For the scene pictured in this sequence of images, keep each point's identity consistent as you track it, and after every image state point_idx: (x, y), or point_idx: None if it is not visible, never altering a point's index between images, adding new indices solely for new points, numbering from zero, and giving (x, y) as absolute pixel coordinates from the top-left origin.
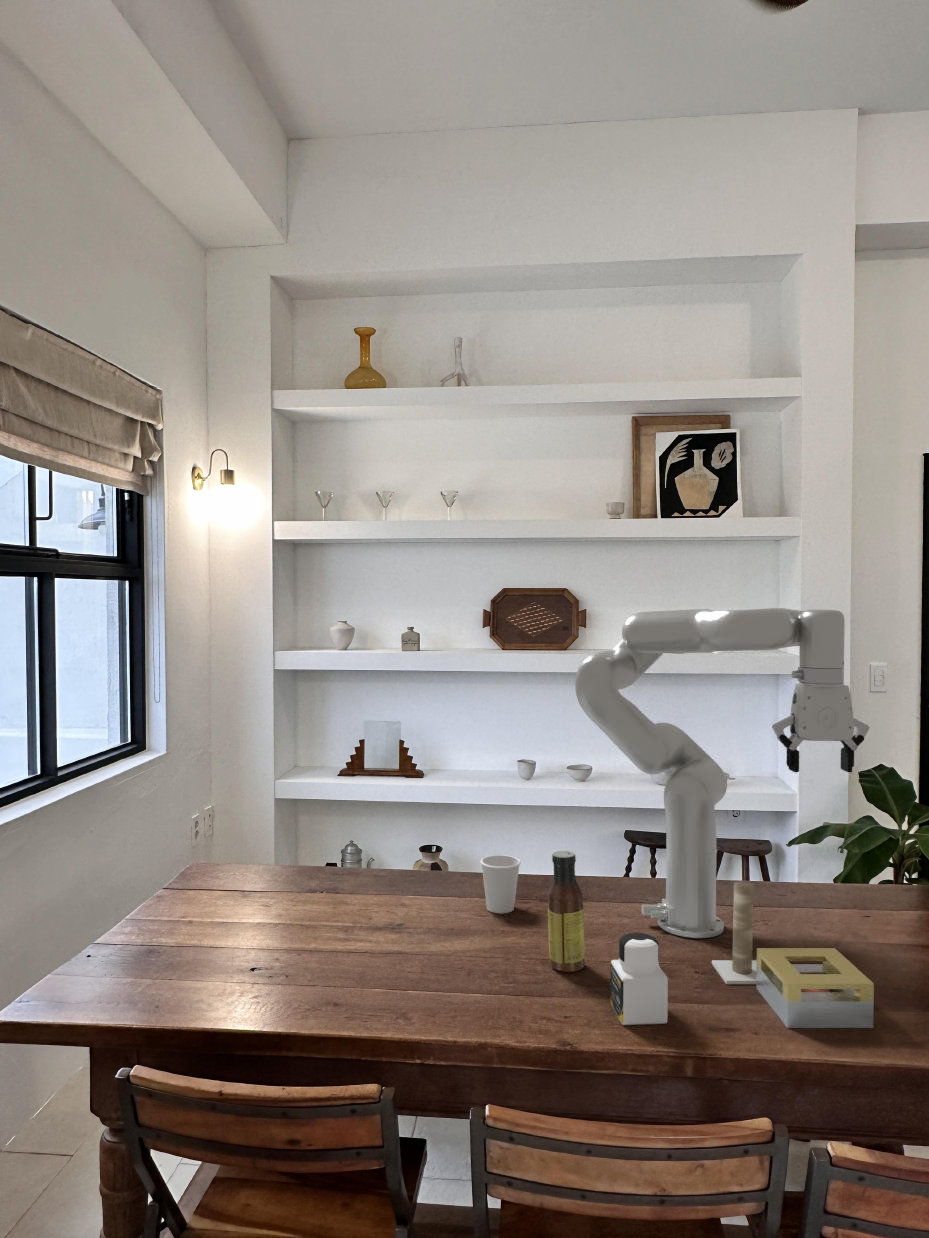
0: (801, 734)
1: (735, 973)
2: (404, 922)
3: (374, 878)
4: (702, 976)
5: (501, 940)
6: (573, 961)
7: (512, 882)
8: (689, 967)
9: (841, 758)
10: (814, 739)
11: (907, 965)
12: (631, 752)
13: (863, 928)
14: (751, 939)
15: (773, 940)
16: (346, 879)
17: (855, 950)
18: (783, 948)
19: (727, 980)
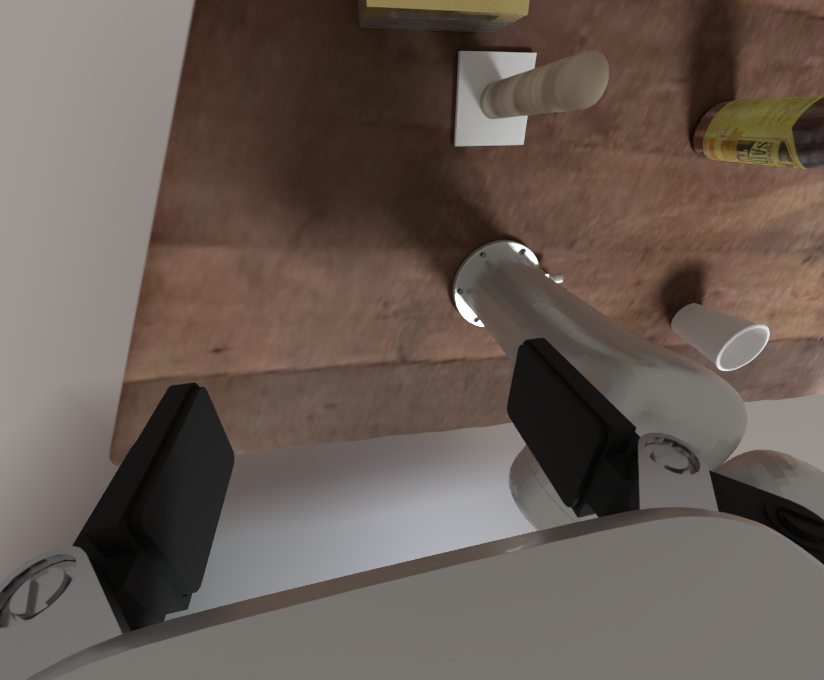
0: (820, 565)
1: None
2: (799, 266)
3: (757, 380)
4: None
5: (736, 218)
6: (736, 100)
7: (716, 323)
8: (558, 128)
9: (215, 511)
10: (604, 528)
11: (189, 143)
12: None
13: (235, 302)
14: (512, 78)
15: (395, 243)
16: (782, 373)
17: (272, 209)
18: (476, 9)
19: (534, 53)
